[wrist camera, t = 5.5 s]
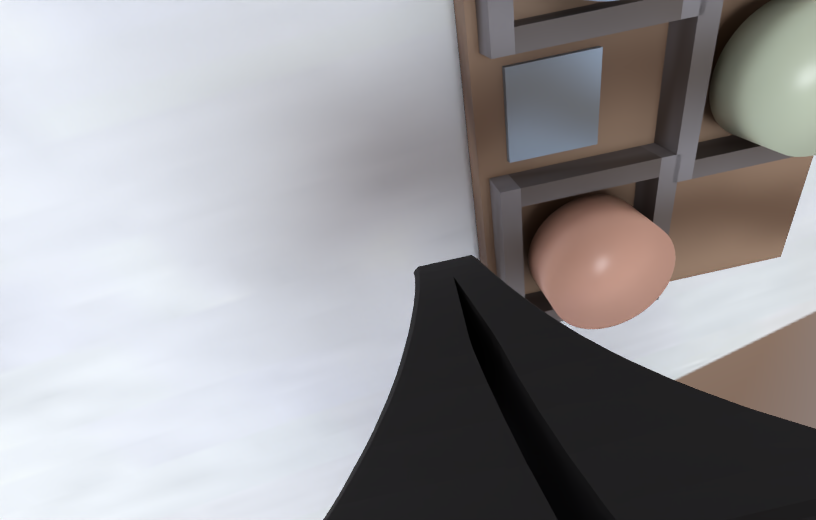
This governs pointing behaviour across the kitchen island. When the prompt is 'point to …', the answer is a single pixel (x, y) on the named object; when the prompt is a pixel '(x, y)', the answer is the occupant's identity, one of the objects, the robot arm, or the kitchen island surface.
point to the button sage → (770, 79)
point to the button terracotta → (600, 261)
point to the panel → (614, 129)
